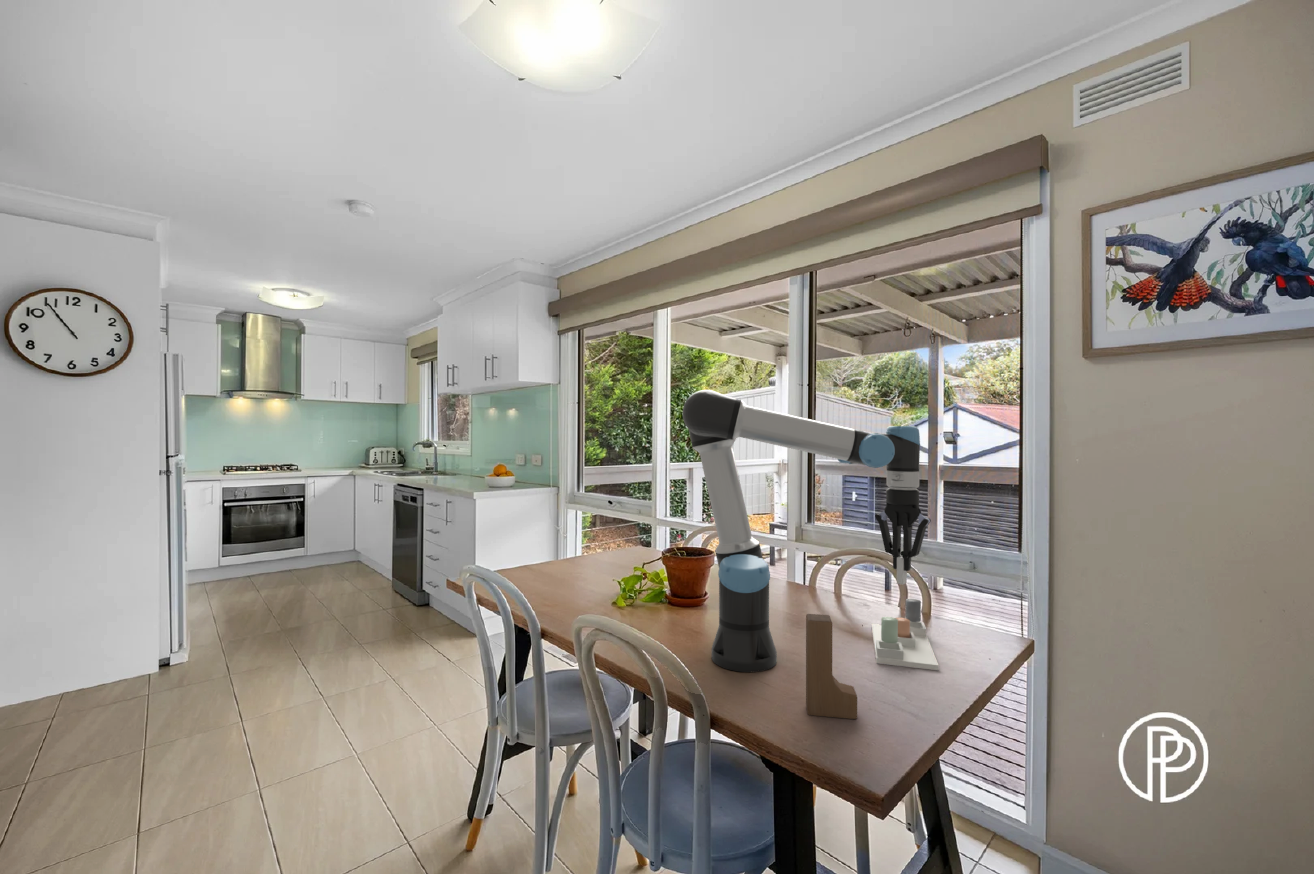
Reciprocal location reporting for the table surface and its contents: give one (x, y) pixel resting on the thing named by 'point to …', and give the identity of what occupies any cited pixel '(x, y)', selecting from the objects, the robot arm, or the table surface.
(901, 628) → the terracotta plunger
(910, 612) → the charcoal plunger
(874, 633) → the button board
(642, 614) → the table surface
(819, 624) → the wooden block
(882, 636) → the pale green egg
